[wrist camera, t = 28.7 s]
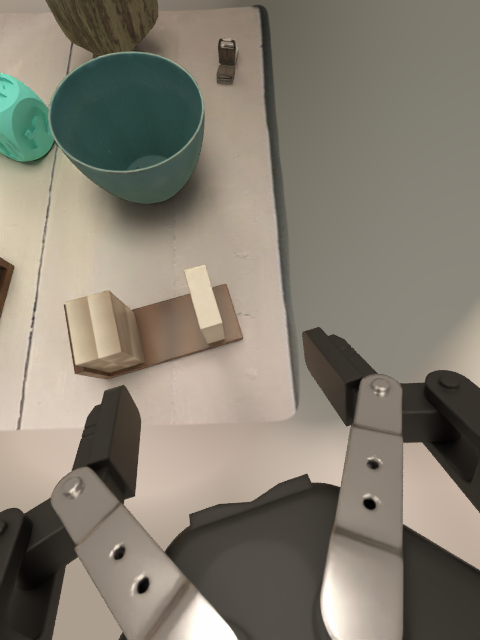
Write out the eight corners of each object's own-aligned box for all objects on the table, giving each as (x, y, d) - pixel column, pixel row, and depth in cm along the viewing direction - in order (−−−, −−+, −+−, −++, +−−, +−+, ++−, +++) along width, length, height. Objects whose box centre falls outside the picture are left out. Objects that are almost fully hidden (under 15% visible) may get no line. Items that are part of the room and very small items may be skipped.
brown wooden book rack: (106, 379, 39) (66, 372, 30) (95, 322, 41) (55, 299, 32) (242, 339, 41) (244, 321, 32) (226, 286, 43) (223, 254, 34)
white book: (207, 344, 40) (200, 329, 31) (194, 296, 41) (183, 270, 33) (225, 339, 40) (222, 322, 32) (210, 291, 42) (204, 264, 33)
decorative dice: (-7, 153, 48) (-53, 105, 40) (21, 116, 50) (-18, 64, 42) (37, 169, 47) (-2, 124, 40) (63, 131, 49) (32, 82, 42)
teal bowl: (219, 141, 49) (214, 59, 38) (201, 239, 45) (189, 180, 33) (111, 128, 50) (72, 42, 38) (81, 223, 45) (26, 160, 33)
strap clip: (222, 48, 55) (221, 19, 51) (238, 50, 55) (239, 21, 51) (215, 83, 53) (214, 56, 49) (232, 85, 53) (232, 58, 49)
